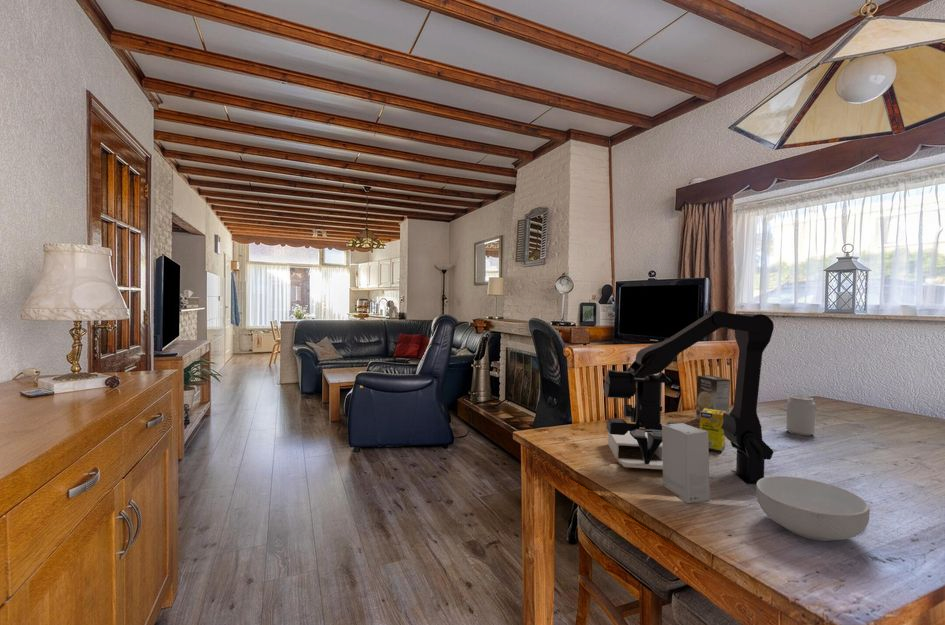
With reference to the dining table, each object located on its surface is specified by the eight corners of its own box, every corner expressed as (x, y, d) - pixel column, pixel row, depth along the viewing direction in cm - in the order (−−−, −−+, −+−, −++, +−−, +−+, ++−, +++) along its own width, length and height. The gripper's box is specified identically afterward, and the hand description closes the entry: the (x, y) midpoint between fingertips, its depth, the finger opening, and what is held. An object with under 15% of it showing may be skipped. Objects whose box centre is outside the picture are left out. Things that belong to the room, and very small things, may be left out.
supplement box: (722, 453, 123) (723, 414, 123) (698, 449, 126) (699, 411, 126) (725, 448, 128) (726, 410, 127) (702, 443, 131) (703, 407, 131)
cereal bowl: (769, 501, 93) (771, 468, 93) (875, 533, 81) (876, 495, 81) (742, 527, 82) (743, 489, 82) (859, 568, 70) (861, 524, 70)
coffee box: (694, 419, 160) (695, 375, 159) (708, 418, 162) (710, 374, 161) (714, 426, 151) (716, 379, 151) (729, 424, 153) (731, 379, 152)
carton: (663, 464, 114) (664, 445, 113) (616, 461, 115) (616, 442, 115) (651, 449, 125) (651, 432, 125) (608, 446, 127) (608, 429, 127)
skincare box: (710, 502, 92) (712, 432, 92) (685, 504, 91) (687, 433, 91) (682, 485, 101) (684, 421, 100) (659, 487, 99) (661, 422, 99)
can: (781, 429, 148) (782, 393, 148) (805, 430, 147) (806, 394, 147) (794, 435, 141) (795, 398, 141) (820, 437, 140) (821, 399, 140)
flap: (663, 464, 113) (675, 470, 104) (617, 461, 115) (624, 467, 106) (663, 460, 113) (674, 466, 104) (617, 457, 115) (624, 463, 106)
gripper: (677, 396, 114) (675, 456, 114) (603, 392, 116) (601, 450, 116) (693, 404, 103) (691, 471, 103) (611, 400, 105) (609, 464, 105)
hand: (646, 463), depth 107 cm, fingers closed, pressing on flap
